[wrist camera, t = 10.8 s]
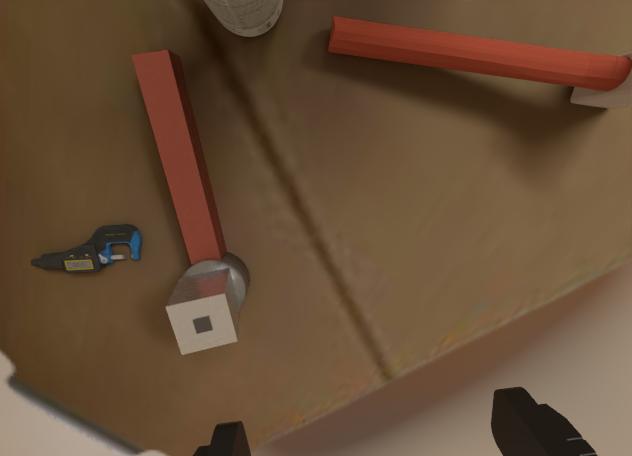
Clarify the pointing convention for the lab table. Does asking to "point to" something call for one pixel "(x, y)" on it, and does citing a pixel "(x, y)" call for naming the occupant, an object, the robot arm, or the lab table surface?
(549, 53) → the mallet
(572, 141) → the lab table surface
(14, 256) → the lab table surface
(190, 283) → the cube with square hole
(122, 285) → the lab table surface
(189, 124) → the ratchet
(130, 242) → the micrometer
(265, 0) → the spray can
